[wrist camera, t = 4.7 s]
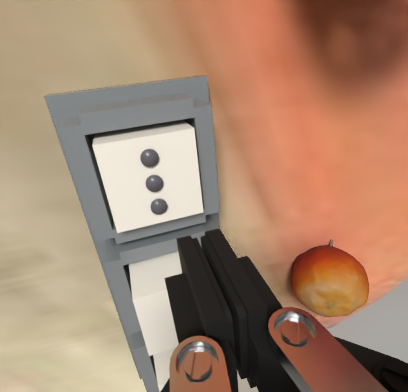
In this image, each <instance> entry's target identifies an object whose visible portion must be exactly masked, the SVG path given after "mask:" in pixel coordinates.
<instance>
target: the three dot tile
mask: <svg viewBox="0 0 408 392" xmlns="http://www.w3.org/2000/svg"><path fill="white" fill-rule="evenodd" d="M92 146H93V150H94V153H95V157H96V160H97V164H98V167H99V171H100V174H101V178H102V181H103V185H104V188H105V192H106V195H107V199H108V202H109V206H110V209H111V213H112V216H113V220H114V223H115V227H116V230H117V233H120V232H124V231H128V230H133V229H137V228H141V227H145V226H149V225H153V224H157V223H162V222H166V221H170V220H174V219H178V218H182V217H187V216H191V215H195V214H199V213H203V203H202V194H201V185H200V176H199V167H198V158H197V148H196V139H195V130H194V128H193V127H192V126H191V125H189V124H188V123H187V122H185V121H184V120H183V119H182V120H176V121H170V122H163V123H157V124H151V125H144V126H138V127H132V128H126V129H119V130H113V131H107V132H101V133H95V134H94V139H93V144H92Z"/></svg>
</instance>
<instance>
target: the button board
mask: <svg viewBox="0 0 408 392" xmlns="http://www.w3.org/2000/svg"><path fill="white" fill-rule="evenodd" d="M45 100H46V103H47V106H48V109H49V112H50V115H51V118H52V121H53V124H54V127H55V130H56V133H57V135H58V138H59V141H60V144H61V147H62V150H63V153H64V156H65V159H66V162H67V165H68V168H69V171H70V174H71V177H72V180H73V183H74V186H75V188H76V191H77V194H78V197H79V200H80V203H81V206H82V209H83V212H84V215H85V218H86V221H87V224H88V227H89V230H90V233H91V236H92V239H93V242H94V244H95V247H96V250H97V253H98V256H99V259H100V262H101V265H102V268H103V271H104V274H105V277H106V280H107V283H108V286H109V289H110V292H111V295H112V298H113V300H114V303H115V306H116V309H117V312H118V315H119V318H120V321H121V324H122V327H123V330H124V333H125V336H126V339H127V342H128V345H129V348H130V351H131V354H132V356H133V359H134V362H135V365H136V368H137V371H138V374H139V377H140V379H143V382H144V385H145V388H146V391H147V392H160V391H159V388H158V383H157V377H156V370H155V364H154V357H153V355H151V356H149V354H148V351H147V347H146V344H145V341H144V337H143V334H142V330H141V327H140V324H139V320H138V317H137V314H136V310H135V307H134V303H133V300H132V290H131V280H130V271H129V264H131V263H134V262H138V261H142V260H146V259H149V258H153V257H157V256H161V255H164V254H168V253H172V252H176V251H178V246H177V240H176V239H177V238H180V237H185V236H189V235H191V237H192V238H197V239H198V241H199V243H200V245H201V239H200V238H201V236H205V231H210V230H214V229H218V228H219V216H218V212H220V206H219V193H218V181H217V168H216V155H215V142H214V129H213V117H212V105H210V104H209V93H208V81H207V76H203V75H202V76H194V77H186V78H178V79H170V80H162V81H154V82H146V83H138V84H130V85H122V86H114V87H106V88H98V89H90V90H82V91H74V92H66V93H58V94H50V95H46V96H45ZM182 119H183V120H184V121H185V122H187V123H188V124H189V125H191V126H192V127H193V128H194V130H195V139H196V148H197V158H198V167H199V176H200V185H201V194H202V203H203V213H199V214H195V215H191V216H187V217H182V218H178V219H174V220H170V221H166V222H162V223H157V224H153V225H149V226H145V227H141V228H137V229H133V230H128V231H124V232H120V233H117V230H116V227H115V223H114V220H113V216H112V213H111V209H110V206H109V202H108V199H107V195H106V192H105V188H104V185H103V181H102V178H101V174H100V171H99V167H98V164H97V160H96V157H95V153H94V150H93V146H92V144H93V139H94V134H95V133H101V132H107V131H113V130H119V129H126V128H132V127H138V126H144V125H151V124H157V123H163V122H170V121H176V120H182ZM219 229H220V228H219Z"/></svg>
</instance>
